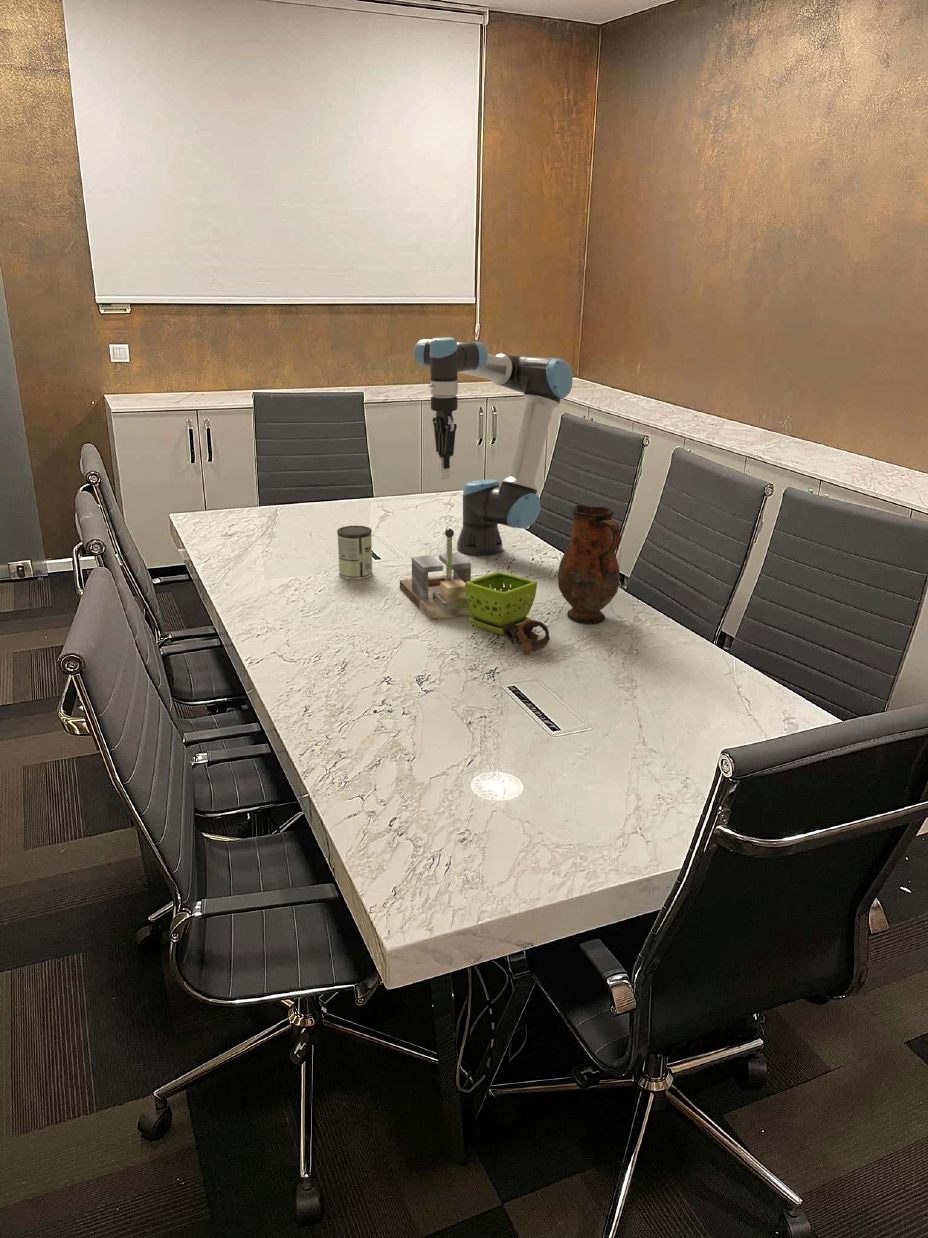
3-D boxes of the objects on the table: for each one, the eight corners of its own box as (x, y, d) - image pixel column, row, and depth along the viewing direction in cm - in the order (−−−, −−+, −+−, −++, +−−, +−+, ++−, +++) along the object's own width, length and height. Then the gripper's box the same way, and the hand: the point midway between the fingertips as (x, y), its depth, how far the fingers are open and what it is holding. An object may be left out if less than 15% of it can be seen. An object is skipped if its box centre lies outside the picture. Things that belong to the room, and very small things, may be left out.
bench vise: (451, 582, 277) (451, 544, 272) (484, 613, 253) (485, 571, 249) (399, 588, 271) (399, 548, 267) (429, 619, 248) (429, 577, 244)
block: (460, 599, 256) (460, 579, 254) (468, 606, 251) (468, 585, 248) (440, 602, 254) (440, 581, 252) (447, 609, 249) (447, 588, 246)
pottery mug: (547, 642, 236) (555, 622, 230) (540, 670, 230) (547, 650, 224) (502, 627, 237) (509, 607, 230) (494, 655, 230) (500, 635, 224)
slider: (462, 595, 258) (463, 526, 251) (475, 606, 250) (476, 535, 243) (431, 598, 255) (432, 528, 248) (443, 610, 247) (444, 538, 240)
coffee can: (342, 568, 288) (341, 524, 283) (375, 570, 287) (374, 526, 282) (335, 579, 278) (333, 533, 273) (368, 580, 277) (367, 535, 272)
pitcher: (596, 603, 262) (603, 499, 251) (637, 629, 244) (646, 518, 233) (543, 610, 256) (549, 504, 245) (581, 637, 238) (589, 524, 227)
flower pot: (537, 626, 245) (539, 581, 240) (502, 641, 235) (504, 594, 230) (497, 613, 253) (498, 569, 249) (462, 626, 244) (463, 581, 239)
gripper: (423, 393, 262) (424, 474, 271) (439, 399, 251) (440, 485, 260) (448, 391, 265) (448, 472, 274) (465, 398, 254) (465, 482, 263)
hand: (444, 478), depth 267 cm, fingers closed
